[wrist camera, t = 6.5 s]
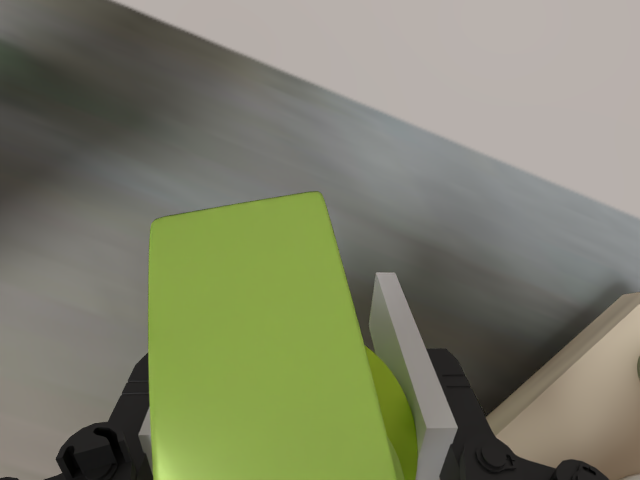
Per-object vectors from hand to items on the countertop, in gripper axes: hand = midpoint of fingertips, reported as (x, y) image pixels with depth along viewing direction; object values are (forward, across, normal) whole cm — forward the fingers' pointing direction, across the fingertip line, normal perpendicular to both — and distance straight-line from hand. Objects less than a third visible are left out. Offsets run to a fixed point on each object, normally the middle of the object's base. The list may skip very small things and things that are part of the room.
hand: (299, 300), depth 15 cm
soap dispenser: (+3, 0, -9) cm, 9 cm away
